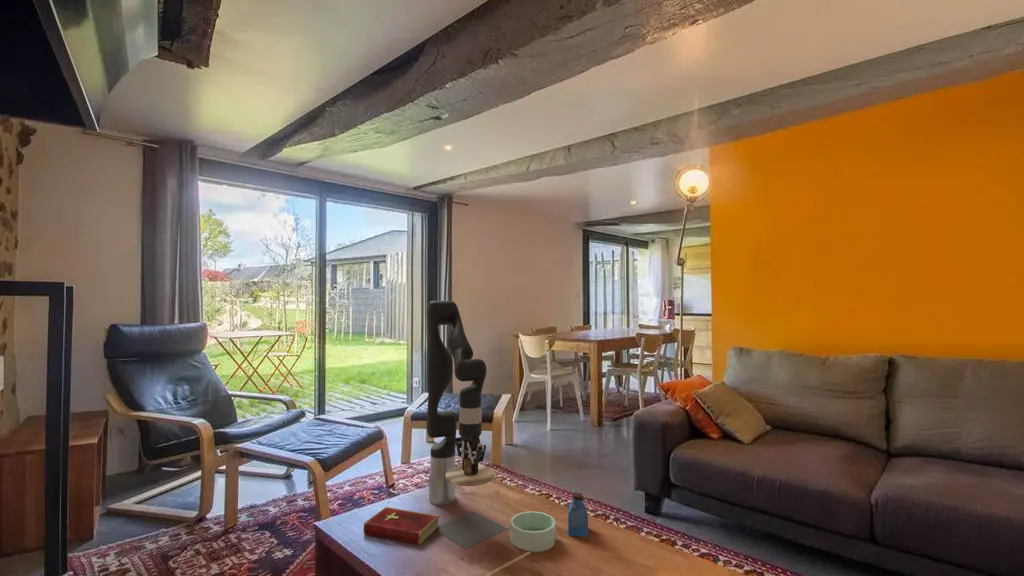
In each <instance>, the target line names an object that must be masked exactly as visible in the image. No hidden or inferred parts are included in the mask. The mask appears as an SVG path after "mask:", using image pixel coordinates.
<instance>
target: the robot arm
mask: <svg viewBox="0 0 1024 576" xmlns="http://www.w3.org/2000/svg"><path fill="white" fill-rule="evenodd" d="M426 316H427V318H426V321H427V334H428V357H427V359H428V360H427V379H428V380H427V381H428V382H427V384H428V386H427V387H428V388H427V389H428V391H427V392H428V393H427V395H428V398H427V410H426V412H427V413H426V433H427V435H428V438H431V439H436V438H443V439H442V440H441V441H439V442H438V443H435V444H434V445H432V446H431V448H430V473H429V474H428V475H429V478H428V479H429V481H428V482H429V484H428V485H429V486H428V488H429V489H428V490H429V492H428V496H429V498H428V499H429V500H430V501H429V502H430V503H431V504H432V505H435V506H436V505H440V506H441V505H448V504H452V503H453V502H454V501H456V485H455V484H452V483H450V482H448V481H447V480H446V472H447V471H448V470H450V469H452V468H454V467H456V454H457V456H458V457H460V459H461V464H462V465H461V466H462V468H463V471H464V459H465V458H471V462H472V463H471V474H472V475H475V474H477V473H478V465H479V463H482V462H483V461H484V458H485V454H486V449H487V445H486V444H482V442H481V439H480V436H481V435H482V431H483V430H482V428H483V427H482V426H483V425H482V424H483V423H482V419H483V417H482V415H483V413H482V391H483V386H484V382H485V379H486V377H487V365H486V362H485V361H484V360H483V359H481V358H473V357H474V352H473V349H472V346H471V344H470V342H469V340H468V338H467V336H466V333H465V329H464V326H463V321H462V317H461V314H460V311H459V307H458V305H457V304H456V302H455V301H452V300H431V301H429V303H428V305H427V310H426ZM447 325H451V327H452V329H451V332H450V333H449V336H448V339H447V345H448V348H449V350H448V349H447V347H446V346H445V344H444V342H443V340H442V338H441V335H440V330H439V326H447ZM453 364H454V366H453ZM453 368H454V369H453ZM453 373H454V376H455V378H456V380H458V381H459V382H471V384H470V385H468V386H466V387H463V388H462V389H461V390H460V391H459V409H458V410H459V411H458V420H457V415H456V413H455V412H454V411H453V410H445V411H438V408H439V405H440V401H441V399H442V397H443V395H444V393H445V392H446V391H447V388H448V387H449V385H450V384H451V382H452V380H453ZM457 422H458V427H457ZM457 428H458V434H459V437H457ZM456 452H457V453H456ZM474 458H475V459H474Z"/></svg>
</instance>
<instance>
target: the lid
mask: <svg viewBox="0 0 1024 576" xmlns="http://www.w3.org/2000/svg"><path fill="white" fill-rule="evenodd" d="M475 458H476V457H474V459H475ZM471 463H472V462H471V457H469V458H465V459H464V471H463V468H462V465H458V466H457V465H456V466H455V467H454V468H452V469H450V470H448V471H447V472H446V480H447V481H448V482H450V483H452V484H455V486H461V487H476V486H477V487H478V486H481V485H484V484H488V483H490V482H491V481H493V480H494V479H495V471H494V470H493V469H492V468H491V467H488V466H485V465H480V464H478V473H477V474H475V475H472V474H471Z"/></svg>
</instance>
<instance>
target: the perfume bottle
mask: <svg viewBox="0 0 1024 576" xmlns="http://www.w3.org/2000/svg"><path fill="white" fill-rule="evenodd" d="M567 525H568V526H567V527H568V528H567V530H568V532H567V533H568V537H585V536H588V537H589V515H588V508H587V506H586V504H585V502H584V497H583V493H581V492H574V493H573V494H572V501H571V502H570V504H569V506H568V508H567Z"/></svg>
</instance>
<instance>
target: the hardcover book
mask: <svg viewBox="0 0 1024 576" xmlns="http://www.w3.org/2000/svg"><path fill="white" fill-rule="evenodd" d="M439 518H440V515H435V514H429V513H424V512H417V511H413V510H412V511H411V510H407V509H401V508H394V507H389V506H386V507H384V508H383V509H381V510H379V511H378V512H377V513H375V514H374V515H373V516H372V517H370V518H369V519H368V520H367V519H366V521H365V522H363V535H364V536H369V537H374V538H378V539H383V540H392V541H396V542H401V543H406V544H411V545H413V546H414V545H415V546H420V547H421V546H422V545H423V544H424V543H425V542H426V541H428V540H429V539H430V538H431V537H432V536H433V535H435V533H437V530H438V529H439V528H440V527H438V525H439Z"/></svg>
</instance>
